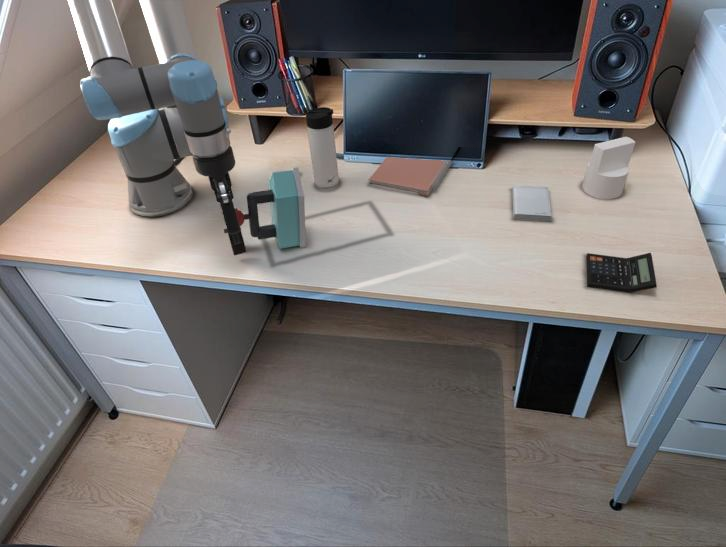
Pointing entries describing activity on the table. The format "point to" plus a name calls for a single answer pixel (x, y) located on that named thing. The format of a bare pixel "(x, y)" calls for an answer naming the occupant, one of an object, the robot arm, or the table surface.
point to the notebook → (411, 174)
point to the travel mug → (322, 147)
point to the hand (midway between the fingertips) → (238, 246)
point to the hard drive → (531, 203)
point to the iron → (279, 210)
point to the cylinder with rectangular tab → (608, 168)
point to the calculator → (620, 272)
